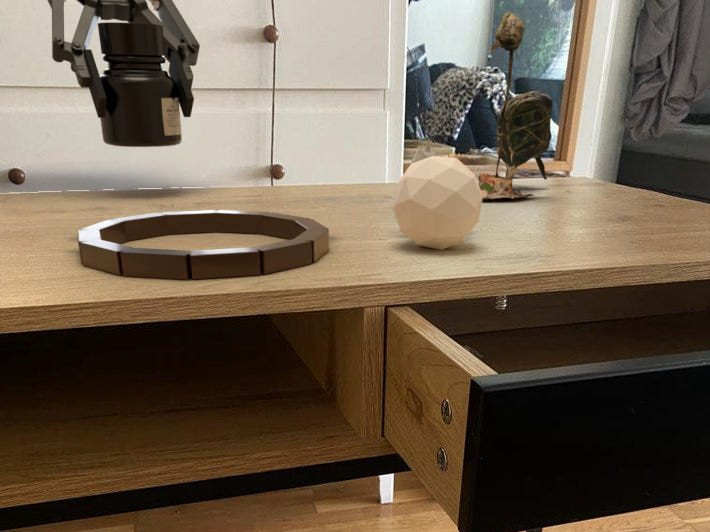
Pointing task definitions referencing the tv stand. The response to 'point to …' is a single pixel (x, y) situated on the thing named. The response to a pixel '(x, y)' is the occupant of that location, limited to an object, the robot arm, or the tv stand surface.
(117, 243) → the walnut ring
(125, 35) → the ink bottle
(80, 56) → the robot arm
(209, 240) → the tv stand surface
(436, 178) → the geometric ball
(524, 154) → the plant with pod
